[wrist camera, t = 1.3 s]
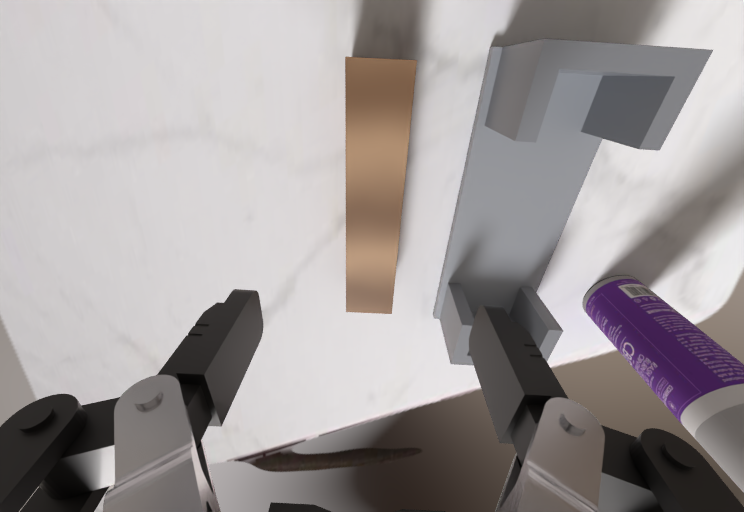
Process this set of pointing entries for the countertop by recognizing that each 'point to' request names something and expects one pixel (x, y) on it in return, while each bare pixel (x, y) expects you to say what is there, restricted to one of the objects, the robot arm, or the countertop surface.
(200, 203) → the countertop surface
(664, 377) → the container
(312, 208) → the countertop surface
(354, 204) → the slat
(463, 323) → the endcap rail
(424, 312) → the countertop surface
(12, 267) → the countertop surface
